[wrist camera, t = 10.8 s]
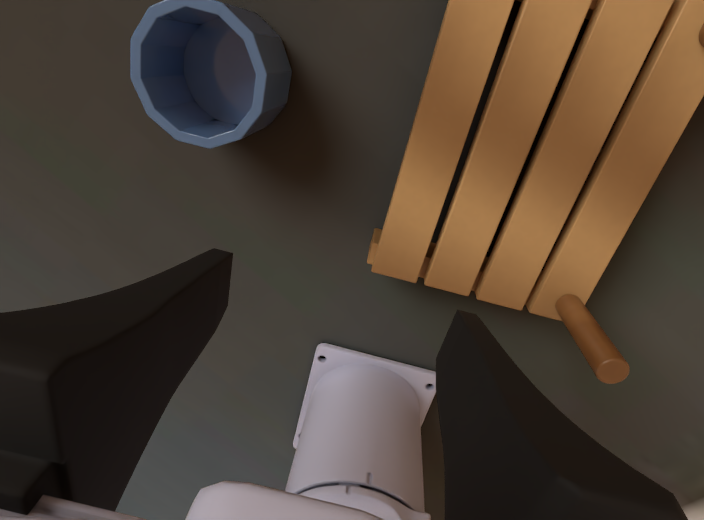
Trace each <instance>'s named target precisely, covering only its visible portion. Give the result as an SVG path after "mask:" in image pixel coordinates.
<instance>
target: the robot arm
mask: <svg viewBox="0 0 704 520" xmlns="http://www.w3.org/2000/svg"><path fill="white" fill-rule="evenodd" d="M232 258H233V253H230V252H226V251H222V250H218V249H211V250H209V251H207V252H204V253H202V254H200V255H198V256H196V257H194V258H192V259H190V260H188V261H186V262H184V263H181V264H179V265H177V266H175V267H173V268H171V269H168V270H166V271H164V272H162V273H159V274H157V275H154V276H152V277H149V278H147V279H144V280H142V281H139V282H137V283H134V284H132V285H129V286H126V287H123V288H120V289H117V290H113V291H110V292H107V293H103V294H100V295H96V296H92V297H88V298H84V299H79V300H75V301H71V302H67V303H62V304H57V305H52V306H46V307H40V308H34V309H27V310H21V311H13V312H5V313H0V520H147V519H143V518H139V517H135V516H130V515H126V514H122V513H118V512H115V510H116V508H117V505H118V503H119V501H120V499H121V497H122V494H123V492H124V490H125V488H126V486H127V484H128V482H129V480H130V478H131V476H132V474H133V472H134V469H135V467H136V465H137V463H138V461H139V459H140V457H141V455H142V453H143V451H144V449H145V447H146V445H147V443H148V441H149V439H150V437H151V435H152V433H153V431H154V429H155V427H156V425H157V424H158V422H159V420H160V418H161V416H162V414H163V412H164V410H165V408H166V407H167V405H168V403H169V401H170V399H171V397H172V396H173V394H174V392H175V391H176V389H177V388H178V386H179V384H180V383H181V381H182V380H183V379H184V377H185V376H186V374H187V373H188V371H189V370H190V368H191V367H192V365H193V364H194V362H195V361H196V359H197V358H198V356H199V355H200V353H201V352H202V350H203V349H204V348H205V346H206V345H207V343H208V342H209V340H210V339H211V337H212V335H213V334H214V332H215V331H216V329H217V327H218V325H219V323H220V321H221V319H222V317H223V314H224V312H225V310H226V308H227V306H228V297H229V287H230V277H231V267H232ZM320 356H324V357H325V358H320ZM427 384H432V386H428V385H427ZM435 393H436V394H437V403H438V411H439V419H440V427H441V436H442V444H443V452H444V465H445V520H688V519H687V517H686V515H685V514H684V512H683V510H682V508H681V507H680V505H679V503H678V501H677V500H676V498H675V496H674V495H673V493H671V492H669V491H668V490H666V489H665V488H663V487H662V486H660V485H658V484H657V483H655V482H654V481H652V480H651V479H649V478H648V477H646V476H644V475H643V474H641V473H640V472H638V471H637V470H635V469H634V468H632V467H631V466H629V465H628V464H626V463H625V462H623V461H622V460H621V459H619V458H618V457H616V456H615V455H614V454H612V453H611V452H610V451H608V450H607V449H605V448H604V447H603V446H601V445H600V444H599V443H598V442H596V441H595V440H594V439H592V438H591V437H590V436H589V435H587V434H586V433H585V432H584V431H583V430H581V429H580V428H579V427H578V426H577V425H575V424H574V423H573V422H572V421H571V420H569V419H568V418H567V417H566V416H565V415H564V414H563V413H562V412H560V411H559V410H558V409H557V408H556V407H555V406H554V405H553V404H552V403H551V402H550V401H549V400H548V399H547V398H546V397H545V396H544V395H543V394H542V393H541V392H540V391H539V390H538V389H537V388H536V387H535V386H534V385H533V384H532V383H531V381H530V380H529V379H528V378H527V377H526V376H525V375H524V374H523V372H522V371H521V370H520V369H519V368H518V367H517V365H516V364H515V363H514V362H513V361H512V359H511V358H510V357H509V356H508V354H507V353H506V352H505V351H504V349H503V348H502V347H501V346H500V344H499V343H498V342H497V340H496V339H495V338H494V336H493V335H492V334H491V332H490V331H489V330H488V329H487V327H486V326H485V325H484V323H483V322H482V321H481V320H480V318H479V317H478V316H477V315H476V314H472V313H468V312H464V311H460V310H457V312H456V314H455V316H454V319H453V321H452V323H451V326H450V328H449V330H448V332H447V335H446V337H445V339H444V342H443V344H442V346H441V349H440V351H439V353H438V355H437V358H436V372H435V371H431V370H427V369H423V368H420V367H416V366H412V365H408V364H404V363H400V362H397V361H393V360H389V359H385V358H381V357H377V356H373V355H370V354H366V353H362V352H358V351H354V350H350V349H346V348H343V347H339V346H335V345H331V344H327V343H321V344H319V345H318V346H317V348H316V352H315V356H314V360H313V364H312V368H311V372H310V376H309V381H308V385H307V389H306V393H305V397H304V401H303V405H302V409H301V413H300V417H299V421H298V425H297V429H296V433H295V437H294V441H293V446H294V448H296V453H295V456H294V460H293V464H292V467H291V471H290V475H289V478H288V482H287V486H286V489H285V491H282V490H278V489H274V488H270V487H266V486H262V485H257V484H253V483H249V482H237V481H222V482H220V483H217V484H214V485H211V486H208V487H205V488H202V489H200V491H199V493H198V495H197V496H196V498H195V500H194V501H193V503H192V505H191V508H190V510H189V512H188V514H187V517H186V519H185V520H431V515H430V514H429V513H425V508H424V488H423V467H422V447H421V426H422V424H423V421H424V419H425V417H426V414H427V412H428V410H429V407H430V405H431V403H432V400H433V398H434V396H435Z"/></svg>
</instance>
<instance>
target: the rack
mask: <svg viewBox="0 0 704 520" xmlns="http://www.w3.org/2000/svg"><path fill="white" fill-rule="evenodd" d="M517 1H520V2H522V3H521V5H520V8H519V11H518V14H517V17H516V19H515V22H514V25H513V28H512V31H511V34H510V36H509V39H508V42H507V45H506V48H505V50H504V53H503V56H502V59H501V62H500V65H499V67H498V70H497V73H496V76H495V79H494V81H493V84H492V87H491V90H490V93H489V96H488V98H487V101H486V104H485V107H484V110H483V112H482V115H481V118H480V121H479V124H478V127H477V129H476V132H475V135H474V138H473V141H472V143H471V146H470V149H469V152H468V155H467V158H466V160H465V163H464V166H463V169H462V172H461V174H460V177H459V180H458V183H457V186H456V189H455V191H454V194H453V197H452V200H451V203H450V205H449V208H448V211H447V214H446V217H445V220H444V222H443V225H442V228H441V231H440V234H439V236H438V239H437V242H436V243H432V242H431V239H432V236H433V233H434V230H435V227H436V225H437V222H438V219H439V216H440V213H441V210H442V207H443V204H444V202H445V199H446V196H447V193H448V190H449V187H450V184H451V181H452V179H453V176H454V173H455V170H456V167H457V164H458V161H459V158H460V156H461V153H462V150H463V147H464V144H465V141H466V138H467V135H468V133H469V130H470V127H471V124H472V121H473V118H474V115H475V112H476V110H477V107H478V104H479V101H480V98H481V95H482V92H483V89H484V87H485V84H486V81H487V78H488V75H489V72H490V69H491V66H492V64H493V61H494V58H495V55H496V52H497V49H498V46H499V43H500V41H501V38H502V35H503V32H504V29H505V26H506V23H507V20H508V18H509V15H510V12H511V9H512V6H513V3H514V0H449V1H448V4H447V7H446V11H445V14H444V18H443V21H442V25H441V28H440V32H439V35H438V39H437V42H436V46H435V49H434V53H433V56H432V60H431V63H430V66H429V70H428V73H427V77H426V80H425V84H424V87H423V91H422V94H421V98H420V101H419V105H418V108H417V112H416V115H415V118H414V122H413V125H412V129H411V132H410V136H409V139H408V143H407V146H406V150H405V153H404V157H403V160H402V164H401V167H400V171H399V174H398V177H397V181H396V184H395V188H394V191H393V195H392V198H391V202H390V205H389V209H388V212H387V216H386V219H385V223H384V226H383V230H382V229H378V228H375V229H374V232H373V236H372V240H371V243H370V247H369V253H368V259H367V263H368V264H372V272H374V273H378V274H382V275H386V276H390V277H394V278H397V279H401V280H405V281H409V282H413V283H416V282H417V279H418V277H422V278H424V284H425V285H426V286H429V287H433V288H437V289H441V290H445V291H449V292H452V293H456V294H460V295H464V296H469V294H470V292H471V290H472V291H475V294H476V298H477V299H478V300H482V301H486V302H489V303H493V304H497V305H501V306H505V307H509V308H512V309H516V310H520V311H521V310H522V308H523V306H524V304H526V306H527V308H528V310H529V312H530V313H532V314H536V315H540V316H543V317H547V318H551V319H555V320H559V321H563V323H564V324H565V326H566V328H567V329H568V331H569V332H570V334H571V336H572V337H573V339H574V341H575V342H576V344H577V346H578V347H579V349H580V350H581V352H582V354H583V355H584V357H585V359H586V360H587V362H588V364H589V365H590V367H591V368H592V370H593V372H594V373H595V375H596V377H597V378H598V379H599V380H600V381H602V382H604V383H608V384H614V383H618V382H621V381H622V380H624V379H625V378H626V377H627V376H628V374H629V371H630V368H629V365H628V363H627V362H626V360H625V359H624V358H623V356H622V355H621V354H620V352H619V351H618V350H617V348H616V347H615V345H614V344H613V343H612V341H611V340H610V339H609V337H608V336H607V335H606V333H605V332H604V331H603V329H602V328H601V327H600V325H599V324H598V322H597V321H596V320H595V318H594V317H593V316H592V314H591V313H590V312H589V310H588V309H587V308H586V306H585V304H586V302H587V300H588V299H589V297H590V295H591V293H592V292H593V290H594V288H595V286H596V284H597V283H598V281H599V279H600V277H601V276H602V274H603V272H604V270H605V269H606V267H607V265H608V263H609V262H610V260H611V258H612V256H613V255H614V253H615V251H616V249H617V247H618V246H619V244H620V242H621V240H622V239H623V237H624V235H625V233H626V232H627V230H628V228H629V226H630V225H631V223H632V221H633V219H634V217H635V216H636V214H637V212H638V210H639V209H640V207H641V205H642V203H643V202H644V200H645V198H646V196H647V195H648V193H649V191H650V189H651V188H652V186H653V184H654V182H655V180H656V179H657V177H658V175H659V173H660V172H661V170H662V168H663V166H664V165H665V163H666V161H667V159H668V158H669V156H670V154H671V152H672V150H673V149H674V147H675V145H676V143H677V142H678V140H679V138H680V136H681V135H682V133H683V131H684V129H685V128H686V126H687V124H688V122H689V121H690V119H691V117H692V115H693V113H694V112H695V110H696V108H697V106H698V105H699V103H700V101H701V99H702V98H703V96H704V0H517ZM584 19H589V22H588V25H587V27H586V29H585V32H584V34H583V36H582V39H581V41H580V44H579V46H578V48H577V51H576V53H575V55H574V58H573V60H572V62H571V65H570V67H569V70H568V72H567V74H566V77H565V79H564V81H563V84H562V86H561V88H560V91H559V93H558V96H557V98H556V100H555V103H554V105H553V107H552V110H551V112H550V115H549V117H548V119H547V122H546V124H545V126H544V129H543V131H542V133H541V136H540V138H539V141H538V143H537V145H536V148H535V150H534V152H533V155H532V157H531V159H530V162H529V164H528V167H527V169H526V171H525V174H524V176H523V178H522V181H521V183H520V185H519V188H518V190H517V193H516V195H515V197H514V200H513V202H512V204H511V207H510V209H509V211H508V214H507V216H506V219H505V221H504V223H503V226H502V228H501V230H500V233H499V235H498V237H497V240H496V242H495V245H494V247H493V249H492V252H491V254H490V256H489V257H485V256H486V254H487V251H488V249H489V247H490V244H491V242H492V239H493V237H494V235H495V232H496V230H497V227H498V225H499V223H500V220H501V218H502V215H503V213H504V211H505V208H506V206H507V203H508V201H509V199H510V196H511V194H512V191H513V189H514V187H515V184H516V182H517V180H518V177H519V175H520V172H521V170H522V168H523V165H524V163H525V160H526V158H527V156H528V153H529V151H530V148H531V146H532V144H533V141H534V139H535V136H536V134H537V132H538V129H539V127H540V125H541V122H542V120H543V117H544V115H545V113H546V110H547V108H548V105H549V103H550V101H551V98H552V96H553V93H554V91H555V89H556V86H557V84H558V81H559V79H560V77H561V74H562V72H563V70H564V67H565V65H566V62H567V60H568V58H569V55H570V53H571V50H572V48H573V46H574V43H575V41H576V38H577V36H578V34H579V31H580V29H581V26H582V24H583V22H584ZM656 37H657V40H656V42H655V44H654V46H653V48H652V50H651V52H650V54H649V56H648V58H647V60H646V62H645V64H644V66H643V68H642V70H641V72H640V74H639V76H638V78H637V81H636V83H635V85H634V87H633V89H632V91H631V93H630V95H629V97H628V99H627V101H626V103H625V105H624V107H623V109H622V111H621V113H620V115H619V117H618V119H617V121H616V123H615V125H614V127H613V129H612V131H611V133H610V135H609V137H608V139H607V141H606V143H605V145H604V147H603V149H602V151H601V153H600V155H599V157H598V160H597V162H596V164H595V166H594V168H593V170H592V172H591V174H590V176H589V178H588V180H587V182H586V184H585V186H584V188H583V190H582V192H581V194H580V196H579V198H578V200H577V202H576V204H575V206H574V208H573V210H572V212H571V214H570V216H569V218H568V220H567V222H566V224H565V226H564V228H563V230H562V232H561V234H560V237H559V239H558V241H557V243H556V245H555V247H554V249H553V251H552V253H551V255H550V257H549V259H548V261H547V263H546V265H545V267H544V269H543V271H541V270H542V268H543V266H544V264H545V262H546V260H547V258H548V255H549V253H550V251H551V249H552V247H553V245H554V243H555V241H556V239H557V237H558V235H559V233H560V231H561V229H562V227H563V225H564V223H565V221H566V219H567V217H568V215H569V213H570V211H571V209H572V207H573V205H574V203H575V201H576V199H577V196H578V194H579V192H580V190H581V188H582V186H583V184H584V182H585V180H586V178H587V176H588V174H589V172H590V170H591V168H592V166H593V164H594V162H595V160H596V158H597V156H598V154H599V152H600V150H601V148H602V146H603V144H604V142H605V140H606V138H607V135H608V133H609V131H610V129H611V127H612V125H613V123H614V121H615V119H616V117H617V115H618V113H619V111H620V109H621V107H622V105H623V103H624V101H625V99H626V97H627V95H628V93H629V91H630V89H631V87H632V85H633V83H634V81H635V79H636V76H637V74H638V72H639V70H640V68H641V66H642V64H643V62H644V60H645V58H646V56H647V54H648V52H649V50H650V48H651V46H652V44H653V42H654V40H655V38H656Z"/></svg>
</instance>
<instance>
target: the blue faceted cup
mask: <svg viewBox="0 0 704 520" xmlns="http://www.w3.org/2000/svg"><path fill="white" fill-rule="evenodd" d="M291 75H292V70H291V67H290V64H289V61H288V58H287V54H286V51H285V48H284V45H283V42H282V39H281V37H280V36H279V35H278V34H277V33H276V32H275V31H274V30H273V29H272V28H271V27H270V26H269V25H268V24H267V23H266V22H265V21H264V20H263V19H262V18H261V17H260V16H259V15H258V14H256V13H254V12H251V11H248V10H245V9H241V8H238V7H235V6H232V5H229V4H225V3H222V2H219V1H215V0H164V1H161V2H159V3H156V4H154V5H151V6H150V7H149V8H148V10H147V11H146V13H145V15H144V17H143V18H142V20H141V22H140V23H139V25H138V27H137V28H136V30H135V32H134V34H133V35H132V37H131V75H130V77H131V81H132V83H133V85H134V87H135V89H136V91H137V93H138V96H139V98H140V100H141V102H142V104H143V106H144V109H145V111H146V113H147V115H148V116H149V117H150V118H151V119H153V120H154V121H155V122H156V123H157V124H158V125H159V126H161V127H162V128H163V129H164V130H165V131H166V132H167V133H169V134H170V135H171V136H172V137H173V138H174V139H175V140H177V141H181V142H185V143H189V144H192V145H196V146H200V147H204V148H208V149H212V148H215V147H219V146H222V145H225V144H228V143H231V142H235V141H238V140H241V139H243V138H245V137H247V136H249V135H251V134H253V133H255V132H257V131H259V130H261V129H263V128H265V127H267V126H268V125H270V124H271V122H272V121H273V120H274V119H275V117H276V116H277V115H278V114H279V113H280V111H281V110H282V109H283V108H284V106H285V105H286V104H287V100H288V94H289V87H290V81H291Z"/></svg>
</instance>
